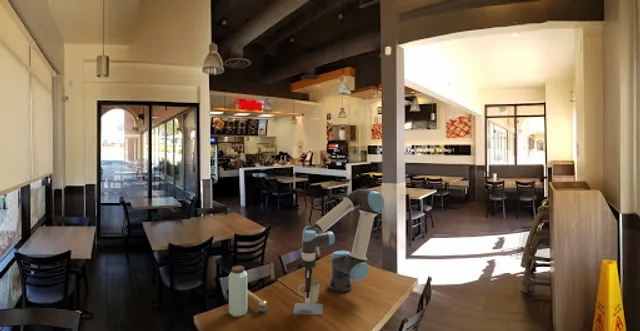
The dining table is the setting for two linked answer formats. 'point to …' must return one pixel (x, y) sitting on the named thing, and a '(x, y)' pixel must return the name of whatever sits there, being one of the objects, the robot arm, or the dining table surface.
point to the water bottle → (238, 291)
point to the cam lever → (257, 299)
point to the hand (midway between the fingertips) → (308, 299)
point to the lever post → (263, 310)
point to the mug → (312, 290)
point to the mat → (308, 309)
